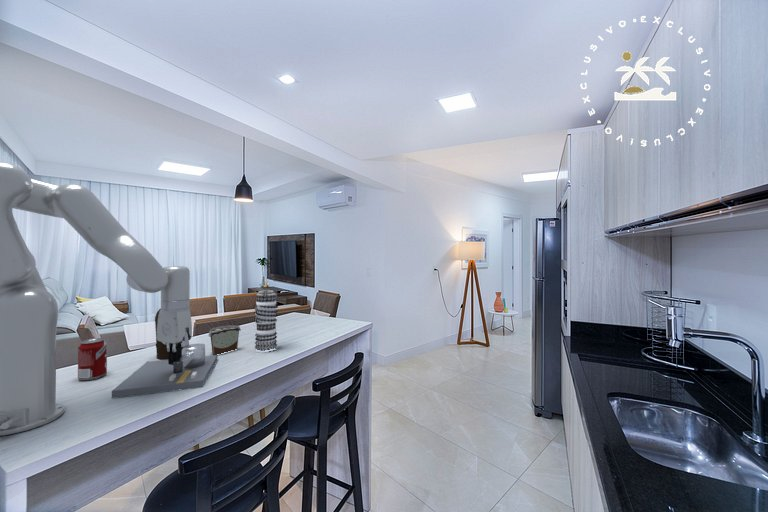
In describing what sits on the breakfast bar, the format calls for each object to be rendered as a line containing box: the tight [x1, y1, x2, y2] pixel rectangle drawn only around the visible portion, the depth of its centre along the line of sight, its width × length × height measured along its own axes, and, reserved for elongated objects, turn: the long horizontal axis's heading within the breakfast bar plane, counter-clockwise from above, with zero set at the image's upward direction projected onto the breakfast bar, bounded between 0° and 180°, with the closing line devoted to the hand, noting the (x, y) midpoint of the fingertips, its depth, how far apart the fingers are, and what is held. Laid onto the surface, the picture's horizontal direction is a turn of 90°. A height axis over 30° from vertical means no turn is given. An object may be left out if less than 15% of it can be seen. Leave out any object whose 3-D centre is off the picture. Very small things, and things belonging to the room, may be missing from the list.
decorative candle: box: [254, 289, 279, 351], centre depth 128 cm, size 9×9×25 cm
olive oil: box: [154, 307, 168, 360], centre depth 120 cm, size 11×11×25 cm
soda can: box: [77, 337, 108, 381], centre depth 98 cm, size 7×7×12 cm
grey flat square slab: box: [111, 355, 218, 399], centre depth 99 cm, size 25×22×3 cm
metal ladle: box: [173, 343, 206, 373], centre depth 98 cm, size 20×7×6 cm, turn 18°
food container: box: [208, 325, 241, 356], centre depth 125 cm, size 12×6×10 cm, turn 144°
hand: (175, 363), depth 96 cm, fingers closed
